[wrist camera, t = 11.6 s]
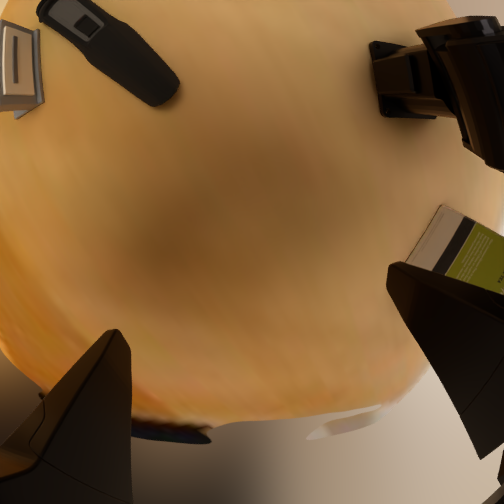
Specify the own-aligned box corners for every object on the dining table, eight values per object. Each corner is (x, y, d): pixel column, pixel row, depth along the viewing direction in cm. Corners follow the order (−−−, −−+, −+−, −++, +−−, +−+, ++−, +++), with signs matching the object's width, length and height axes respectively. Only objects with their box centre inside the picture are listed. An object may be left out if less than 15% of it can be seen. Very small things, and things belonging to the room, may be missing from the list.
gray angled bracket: (39, 29, 9) (5, 15, 5) (44, 102, 12) (4, 101, 8) (12, 48, 9) (-23, 40, 5) (17, 119, 12) (-23, 124, 8)
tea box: (480, 256, 27) (551, 314, 14) (441, 314, 30) (502, 383, 17) (440, 199, 22) (556, 270, 9) (388, 280, 25) (480, 385, 12)
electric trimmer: (153, 123, 16) (144, 122, 13) (39, 19, 9) (20, 10, 6) (194, 84, 15) (194, 76, 12) (72, -15, 8) (58, -29, 5)
